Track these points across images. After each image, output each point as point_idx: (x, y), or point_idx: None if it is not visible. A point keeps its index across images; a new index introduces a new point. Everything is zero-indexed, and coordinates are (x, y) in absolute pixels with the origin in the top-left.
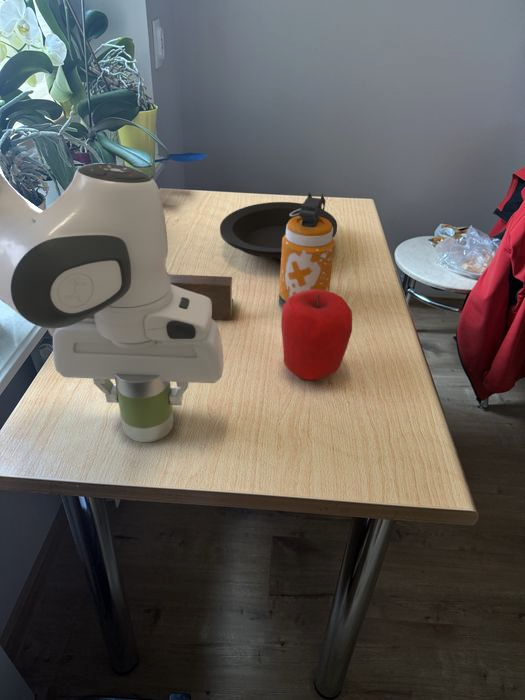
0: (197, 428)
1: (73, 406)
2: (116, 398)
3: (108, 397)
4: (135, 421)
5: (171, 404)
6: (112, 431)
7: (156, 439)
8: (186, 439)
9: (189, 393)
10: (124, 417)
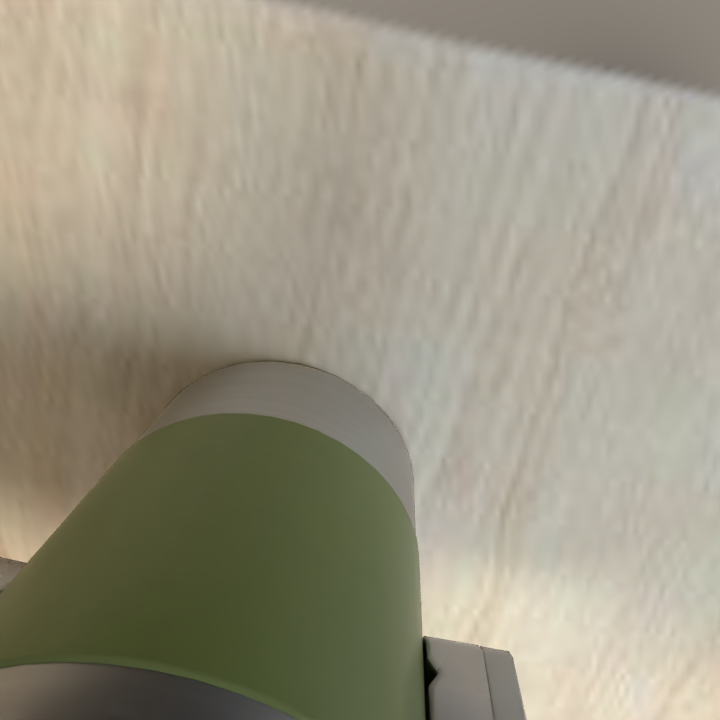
0: (21, 421)
1: (668, 644)
2: (435, 680)
3: (501, 699)
4: (294, 459)
5: (16, 565)
6: (472, 463)
7: (221, 369)
8: (63, 353)
9: None
10: (381, 509)
